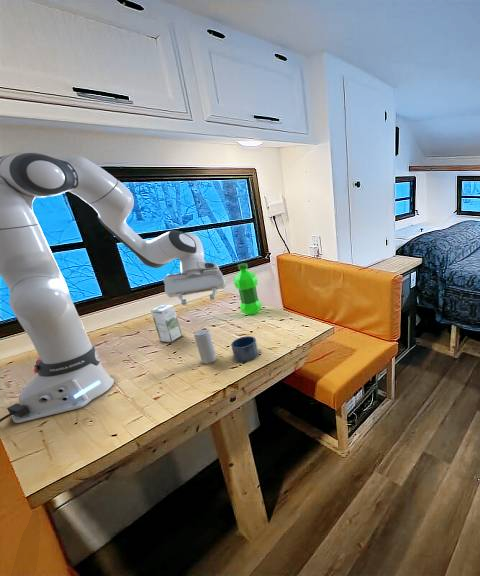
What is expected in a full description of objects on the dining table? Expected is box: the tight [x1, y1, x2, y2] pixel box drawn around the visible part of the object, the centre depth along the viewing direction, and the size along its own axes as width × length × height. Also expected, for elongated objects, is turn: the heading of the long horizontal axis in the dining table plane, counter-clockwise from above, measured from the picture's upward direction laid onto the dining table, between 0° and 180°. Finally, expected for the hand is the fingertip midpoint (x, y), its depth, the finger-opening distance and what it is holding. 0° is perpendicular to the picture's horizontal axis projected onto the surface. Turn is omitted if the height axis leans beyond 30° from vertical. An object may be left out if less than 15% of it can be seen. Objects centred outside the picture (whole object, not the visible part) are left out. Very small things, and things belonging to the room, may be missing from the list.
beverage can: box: [194, 328, 217, 365], centre depth 110 cm, size 5×5×12 cm
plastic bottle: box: [233, 262, 262, 316], centre depth 147 cm, size 10×10×25 cm
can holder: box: [230, 335, 259, 363], centre depth 114 cm, size 8×8×6 cm
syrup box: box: [150, 304, 183, 343], centre depth 127 cm, size 6×6×14 cm
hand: (198, 301), depth 116 cm, fingers open, 8 cm apart
